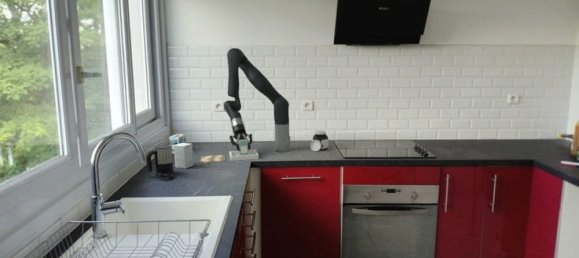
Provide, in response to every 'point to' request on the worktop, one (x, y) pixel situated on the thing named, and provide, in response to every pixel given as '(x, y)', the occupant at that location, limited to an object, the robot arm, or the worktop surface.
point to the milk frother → (161, 160)
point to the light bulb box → (177, 140)
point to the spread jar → (320, 141)
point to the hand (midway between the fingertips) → (244, 149)
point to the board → (212, 158)
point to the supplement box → (183, 155)
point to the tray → (235, 155)
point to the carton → (243, 147)
